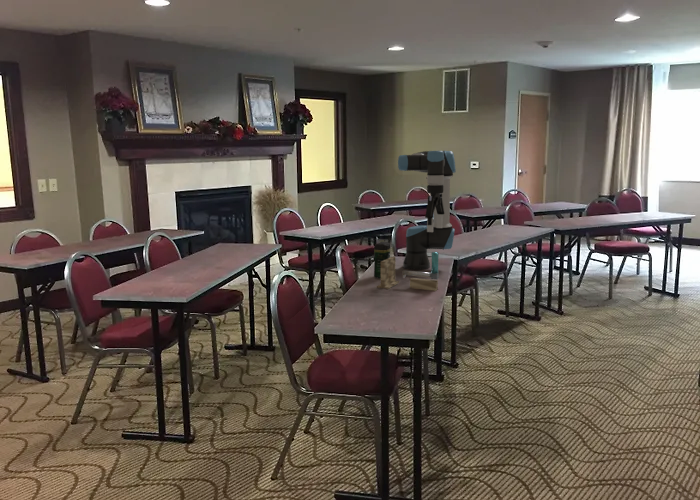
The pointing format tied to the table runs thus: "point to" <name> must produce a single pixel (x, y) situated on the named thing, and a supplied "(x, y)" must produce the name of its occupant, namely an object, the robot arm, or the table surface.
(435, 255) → the teal handled tool
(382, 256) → the coffee jar
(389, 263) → the tan wooden block
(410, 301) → the table surface
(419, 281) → the tan wooden bar
